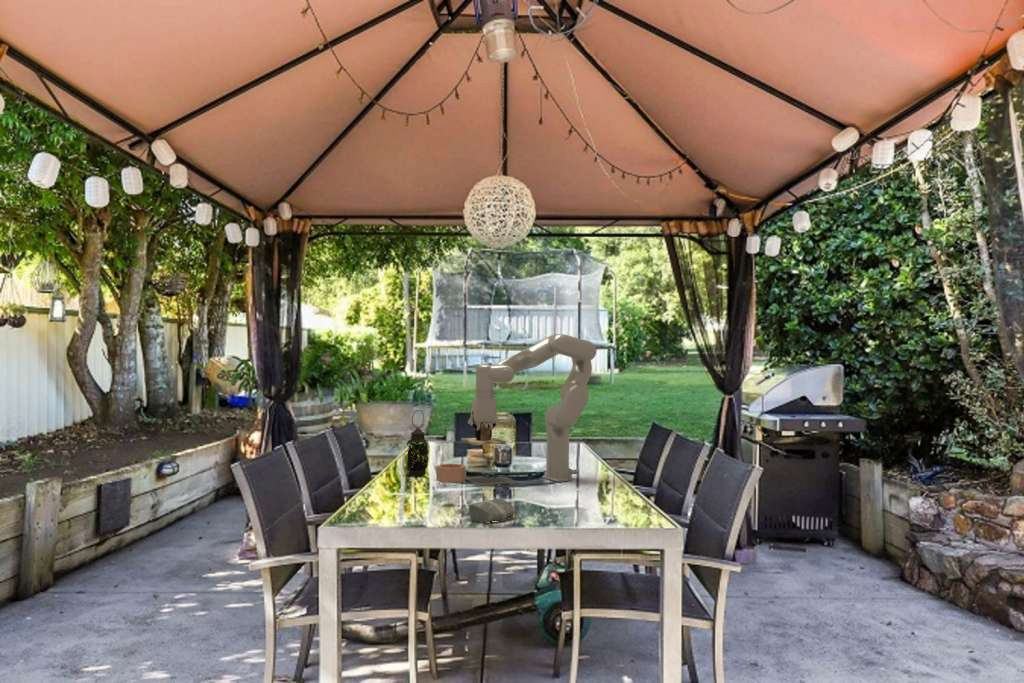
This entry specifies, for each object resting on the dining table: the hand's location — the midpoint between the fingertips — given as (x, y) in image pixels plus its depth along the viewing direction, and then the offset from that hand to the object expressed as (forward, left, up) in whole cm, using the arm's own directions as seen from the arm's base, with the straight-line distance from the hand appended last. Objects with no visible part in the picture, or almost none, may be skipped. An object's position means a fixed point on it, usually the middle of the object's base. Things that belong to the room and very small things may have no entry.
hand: (483, 439), depth 296 cm
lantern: (+20, -25, -18) cm, 37 cm away
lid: (0, 0, -1) cm, 1 cm away
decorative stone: (+22, +60, -18) cm, 66 cm away
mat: (-3, +1, -18) cm, 18 cm away
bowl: (+12, -5, -18) cm, 22 cm away
